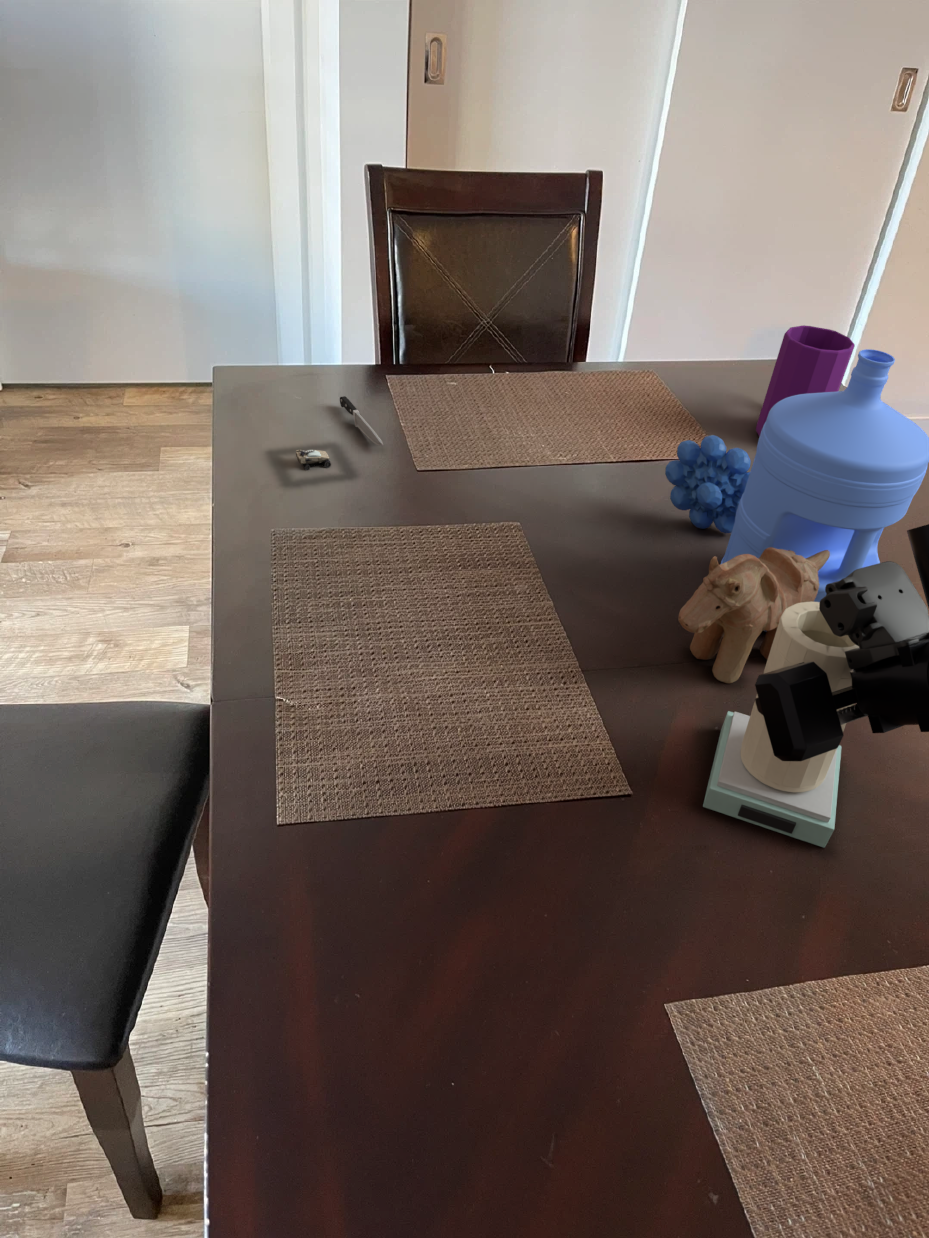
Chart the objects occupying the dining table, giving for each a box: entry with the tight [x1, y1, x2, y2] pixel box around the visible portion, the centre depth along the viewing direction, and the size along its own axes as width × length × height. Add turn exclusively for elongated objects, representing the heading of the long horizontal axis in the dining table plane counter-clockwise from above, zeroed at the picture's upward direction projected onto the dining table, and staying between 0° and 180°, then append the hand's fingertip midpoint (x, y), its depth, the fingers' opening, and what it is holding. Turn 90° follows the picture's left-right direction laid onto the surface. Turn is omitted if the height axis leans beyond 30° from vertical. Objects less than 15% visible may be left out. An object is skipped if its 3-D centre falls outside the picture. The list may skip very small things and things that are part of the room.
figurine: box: [678, 547, 830, 684], centre depth 86 cm, size 7×18×15 cm, turn 122°
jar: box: [740, 601, 859, 792], centre depth 72 cm, size 7×7×14 cm
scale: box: [702, 710, 842, 849], centre depth 77 cm, size 10×10×3 cm
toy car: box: [295, 449, 332, 471], centre depth 114 cm, size 3×4×2 cm, turn 112°
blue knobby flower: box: [664, 434, 752, 534], centre depth 106 cm, size 12×7×12 cm, turn 67°
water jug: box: [720, 348, 929, 633], centre depth 91 cm, size 16×16×28 cm
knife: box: [339, 395, 384, 447], centre depth 122 cm, size 15×1×2 cm, turn 27°
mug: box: [755, 324, 856, 437], centre depth 129 cm, size 9×16×15 cm, turn 165°
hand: (794, 693), depth 73 cm, fingers closed on jar, 7 cm apart
